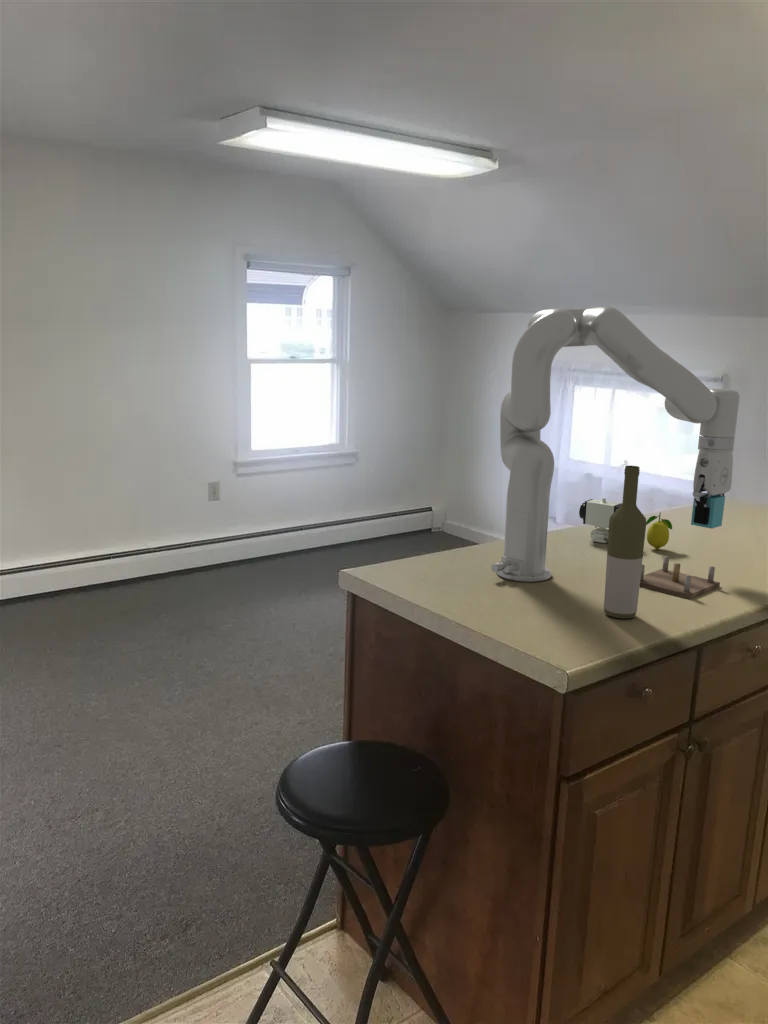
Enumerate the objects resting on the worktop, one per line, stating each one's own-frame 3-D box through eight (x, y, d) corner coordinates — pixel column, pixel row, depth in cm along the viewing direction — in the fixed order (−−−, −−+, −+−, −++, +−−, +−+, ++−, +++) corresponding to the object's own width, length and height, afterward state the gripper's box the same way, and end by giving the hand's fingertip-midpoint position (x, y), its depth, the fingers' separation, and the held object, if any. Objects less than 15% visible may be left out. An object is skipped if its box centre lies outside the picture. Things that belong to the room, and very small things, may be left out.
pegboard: (689, 599, 179) (691, 576, 178) (630, 583, 189) (632, 562, 188) (719, 586, 188) (721, 565, 187) (662, 572, 198) (664, 552, 197)
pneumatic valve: (618, 547, 221) (621, 502, 218) (576, 539, 228) (579, 496, 225) (626, 543, 225) (629, 499, 223) (585, 536, 232) (588, 493, 230)
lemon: (642, 550, 218) (645, 513, 216) (643, 545, 223) (647, 509, 221) (669, 553, 216) (673, 515, 213) (670, 548, 221) (673, 511, 219)
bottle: (643, 614, 168) (657, 466, 162) (629, 623, 163) (643, 470, 156) (610, 607, 172) (622, 462, 166) (595, 615, 167) (607, 466, 161)
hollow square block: (711, 528, 191) (715, 498, 190) (690, 524, 195) (694, 494, 193) (721, 525, 195) (725, 496, 193) (701, 521, 198) (704, 492, 197)
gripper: (714, 448, 182) (704, 530, 186) (748, 443, 194) (738, 520, 198) (682, 444, 188) (673, 523, 191) (717, 439, 199) (708, 514, 203)
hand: (706, 521), depth 194 cm, fingers closed on hollow square block, 5 cm apart
